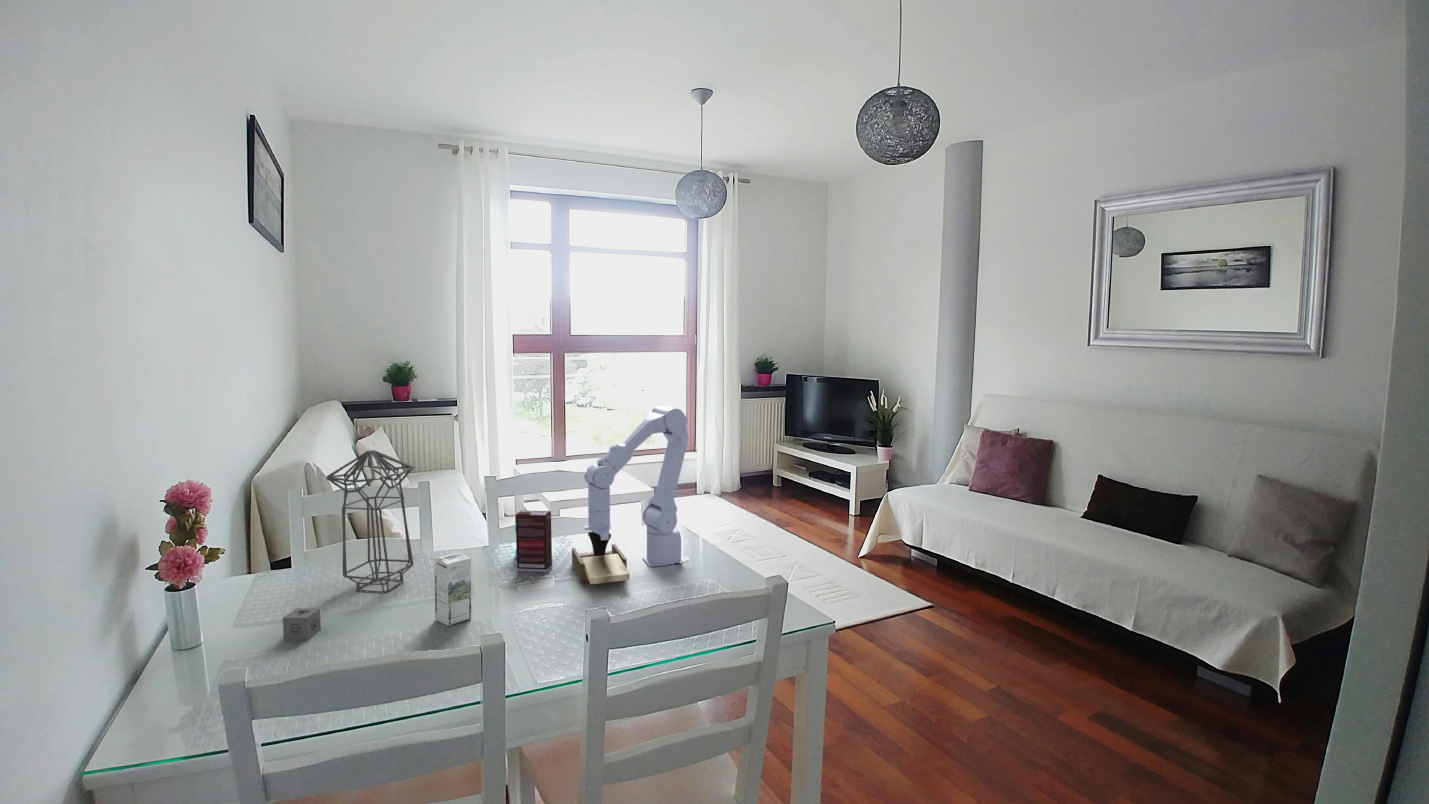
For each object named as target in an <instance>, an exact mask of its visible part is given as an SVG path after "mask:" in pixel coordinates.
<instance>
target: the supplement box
mask: <svg viewBox="0 0 1429 804" xmlns="http://www.w3.org/2000/svg"><path fill="white" fill-rule="evenodd" d="M515 525H516V531H515V538H516V539H515V541H516V542H515V543H516V544H515V545H516V547H515V549H516V548H517V556H516V571H517V572H525V573H527V572H528V573H529V572H530V573H532V572H533V573H548V571H550V570H551V569H552V568H553V550H552V548H553V546H552V543H553V541H552V537H553V536H552V511H551V510H550V511H549V510H523V509H522V510H520V511H519V512H516V513H515Z"/></svg>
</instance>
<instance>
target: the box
mask: <svg viewBox="0 0 1429 804" xmlns="http://www.w3.org/2000/svg"><path fill="white" fill-rule="evenodd" d="M610 554H618V555H619V557H620V558H621V560H622V562H623V564H624V565H625V567H626V569H627V570H628V564H627V563H628V559H627V557H625V555H624V554H623V553H622V552H621V550H620V549H619V548H618V546H617V545H616V544H615V543H612V544H611V550H610V551H609V550H608V551H605V555H610ZM591 556H594V552H589V553H578V551H577V549H576V547H571V567H572V569H573V571H574V573H575V575H576V576H577V578H578V580H579V582H580V584H581V585H583V584H590V581H589V579H588V577H587V575H586V573H585V570H584V563H583V561H582V559H581V557H591Z"/></svg>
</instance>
